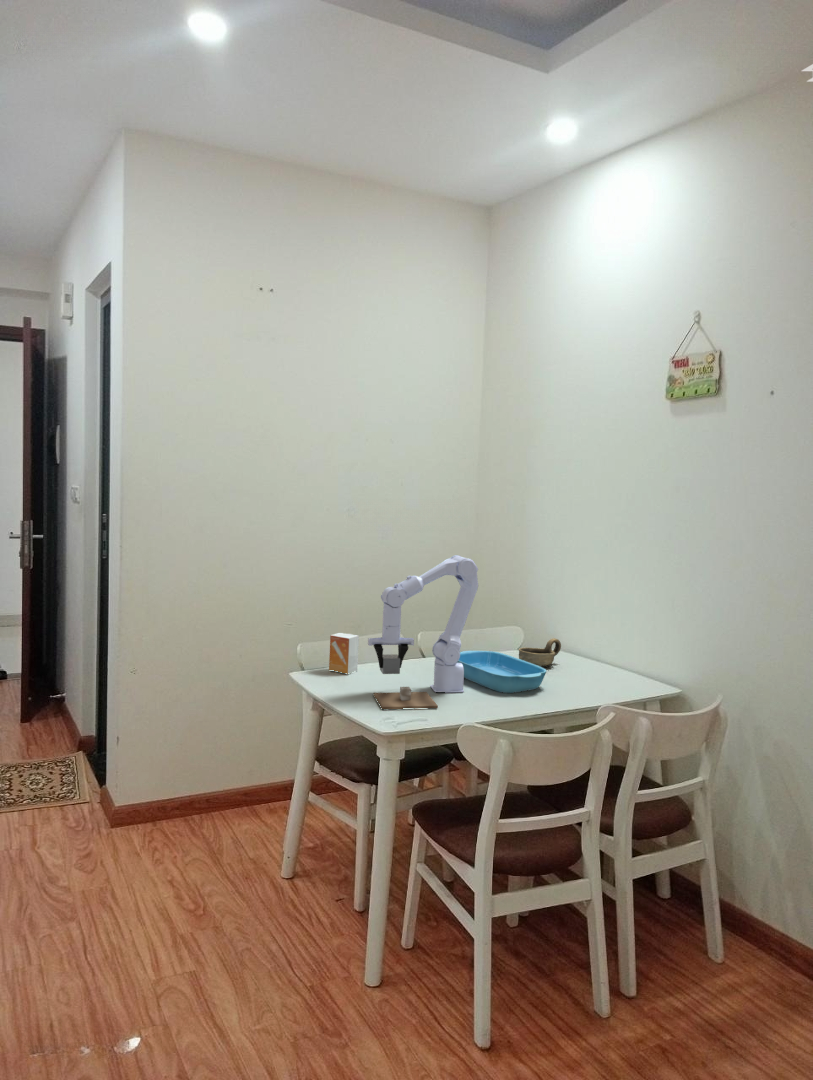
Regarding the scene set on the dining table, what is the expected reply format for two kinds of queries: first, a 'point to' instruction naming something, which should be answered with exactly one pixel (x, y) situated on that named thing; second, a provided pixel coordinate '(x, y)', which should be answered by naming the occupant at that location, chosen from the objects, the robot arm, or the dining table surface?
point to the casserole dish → (501, 671)
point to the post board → (413, 703)
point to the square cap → (390, 664)
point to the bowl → (540, 653)
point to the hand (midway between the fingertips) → (390, 667)
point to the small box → (343, 652)
